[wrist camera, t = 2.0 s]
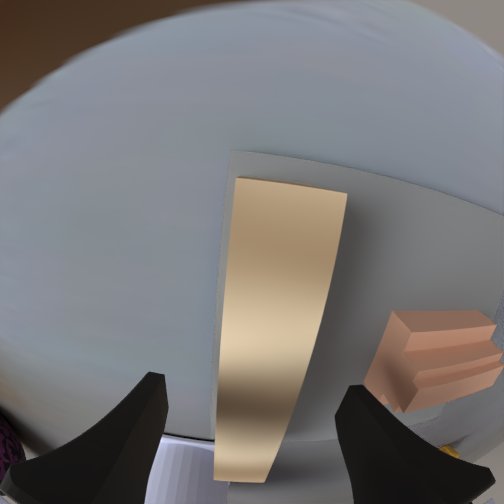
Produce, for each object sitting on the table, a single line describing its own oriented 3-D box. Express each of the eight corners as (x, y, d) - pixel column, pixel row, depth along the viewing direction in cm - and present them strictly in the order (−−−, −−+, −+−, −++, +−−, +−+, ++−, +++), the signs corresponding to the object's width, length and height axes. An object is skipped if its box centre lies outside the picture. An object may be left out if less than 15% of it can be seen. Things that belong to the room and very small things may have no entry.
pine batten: (261, 435, 15) (264, 482, 11) (217, 432, 15) (213, 480, 11) (312, 185, 11) (347, 193, 7) (239, 175, 11) (235, 177, 7)
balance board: (431, 409, 18) (456, 449, 12) (211, 426, 17) (204, 489, 11) (510, 220, 12) (564, 240, 7) (231, 151, 11) (218, 135, 6)
